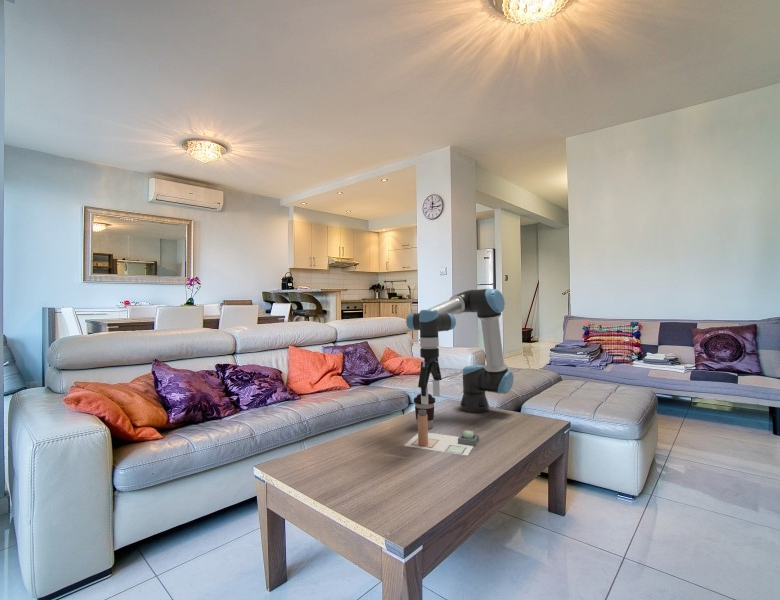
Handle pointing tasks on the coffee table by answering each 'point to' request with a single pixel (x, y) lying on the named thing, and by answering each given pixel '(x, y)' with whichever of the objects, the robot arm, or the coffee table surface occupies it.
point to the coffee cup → (425, 408)
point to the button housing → (468, 440)
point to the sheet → (441, 444)
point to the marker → (422, 428)
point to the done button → (468, 434)
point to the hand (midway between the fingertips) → (430, 399)
